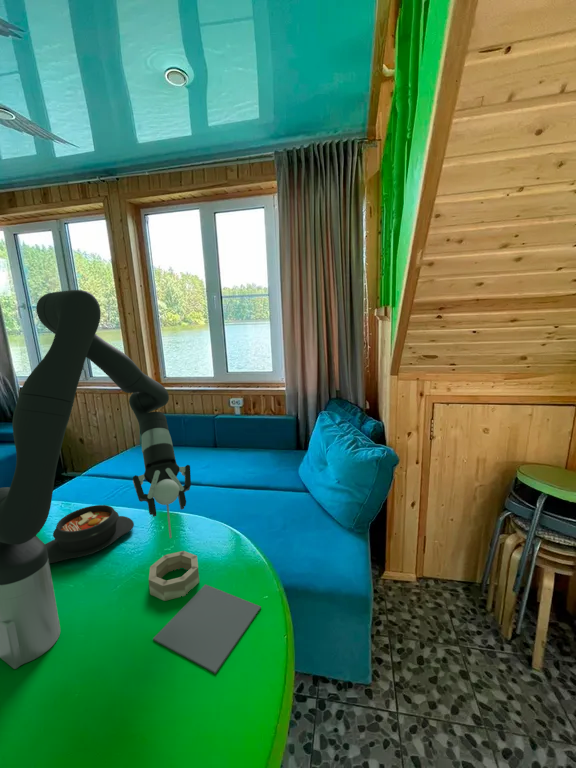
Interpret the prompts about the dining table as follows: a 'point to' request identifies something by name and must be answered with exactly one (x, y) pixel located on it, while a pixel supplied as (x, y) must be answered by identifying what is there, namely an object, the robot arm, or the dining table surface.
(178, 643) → the mat
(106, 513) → the casserole
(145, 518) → the dining table surface
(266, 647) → the dining table surface
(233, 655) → the dining table surface
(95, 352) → the robot arm
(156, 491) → the lollipop
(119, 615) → the dining table surface
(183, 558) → the octagonal ring
